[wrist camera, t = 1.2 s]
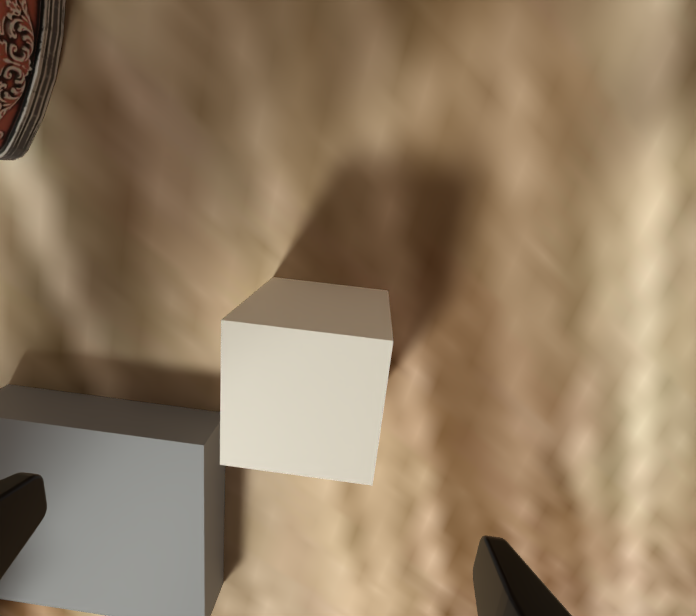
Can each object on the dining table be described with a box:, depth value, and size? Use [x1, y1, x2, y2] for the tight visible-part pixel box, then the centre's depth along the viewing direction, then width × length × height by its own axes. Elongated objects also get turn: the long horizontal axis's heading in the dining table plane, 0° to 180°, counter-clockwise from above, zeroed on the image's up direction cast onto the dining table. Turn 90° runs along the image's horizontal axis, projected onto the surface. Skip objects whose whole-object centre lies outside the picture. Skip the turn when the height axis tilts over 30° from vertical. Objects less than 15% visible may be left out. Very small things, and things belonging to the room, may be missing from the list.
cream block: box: [220, 277, 393, 485], centre depth 15 cm, size 5×5×6 cm
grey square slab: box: [0, 384, 225, 616], centre depth 20 cm, size 11×11×3 cm
